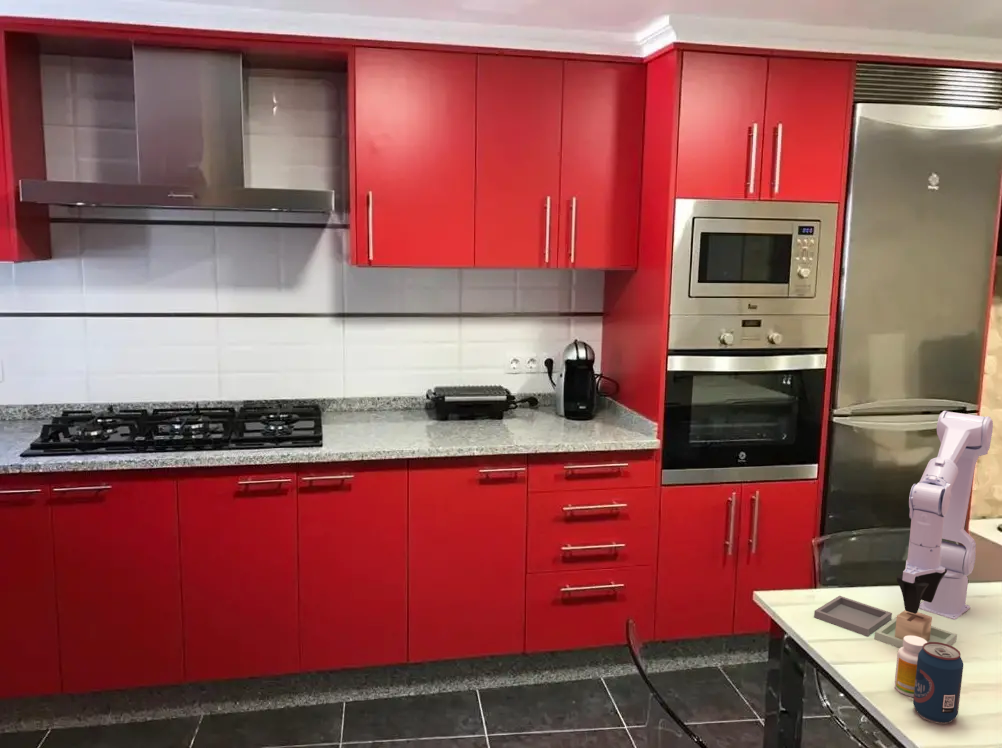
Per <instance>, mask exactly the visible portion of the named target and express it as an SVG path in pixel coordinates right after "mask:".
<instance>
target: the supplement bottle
mask: <svg viewBox="0 0 1002 748" xmlns="http://www.w3.org/2000/svg"><path fill="white" fill-rule="evenodd" d="M925 643H927V641H926V640H925V639H923V638H921V637H917V636H911V635H910V636H905V637H904V638H903V647H901V648H899V649H898V651H897V657H896V665H895V666H896V667H895V677H894V688H895V690H896V691H898V692H899V693H901V694H902V695H904V696H907V697H911V698H912V697H913V698H914V689H915V679H916V670H917V660H918V653H919V652H920V651H921V649H922V648H923V645H924V644H925Z"/></svg>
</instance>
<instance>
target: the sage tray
mask: <svg viewBox="0 0 1002 748" xmlns="http://www.w3.org/2000/svg"><path fill="white" fill-rule="evenodd" d="M896 619H897V616H895V617H894V618H892V619H891V620H890V621H889V622H887V623H886V624H885V625H883V626H882V627H880V628H879V629H878V630H876V631H875V632H874V637H873V638H874V640H875V641H879V642H881V643H885V644H888V645H890V646H892V647H896V648H899V649H900V648H901V647H903V640H902V639H899V638H896V637H895V629H896ZM957 636H958V634H956V633H954V632H950V631H947V630H945V629H941V628H938V627H936V626H933V625H931V632H930V640H929V641H928V642H939V643H944V644H948V645H950V646H953V645H954V644H956V642H957Z"/></svg>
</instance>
